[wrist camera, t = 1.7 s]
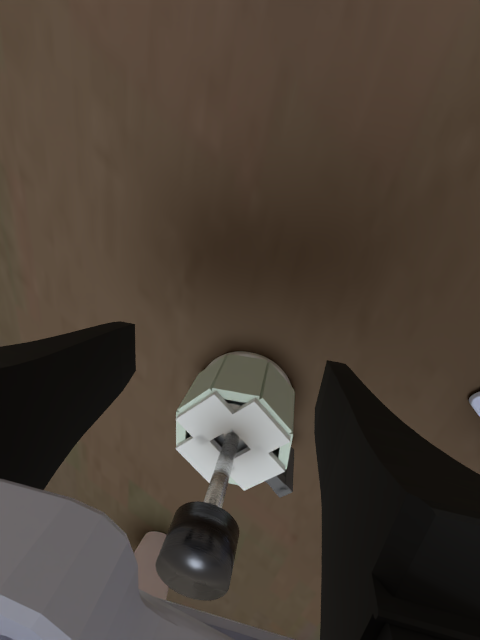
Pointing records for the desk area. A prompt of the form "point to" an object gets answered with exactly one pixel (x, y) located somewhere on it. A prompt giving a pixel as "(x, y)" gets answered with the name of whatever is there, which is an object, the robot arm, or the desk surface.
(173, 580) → the plunger
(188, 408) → the faceted mint canister
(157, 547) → the smoothie
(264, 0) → the desk surface
